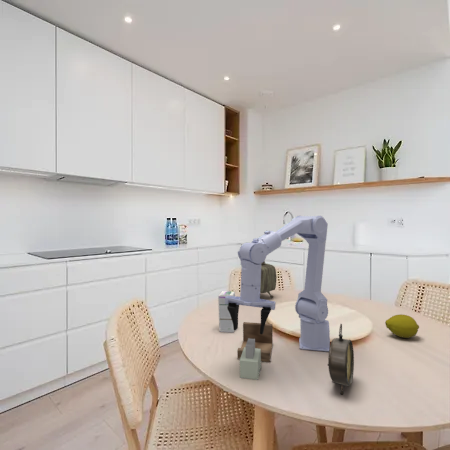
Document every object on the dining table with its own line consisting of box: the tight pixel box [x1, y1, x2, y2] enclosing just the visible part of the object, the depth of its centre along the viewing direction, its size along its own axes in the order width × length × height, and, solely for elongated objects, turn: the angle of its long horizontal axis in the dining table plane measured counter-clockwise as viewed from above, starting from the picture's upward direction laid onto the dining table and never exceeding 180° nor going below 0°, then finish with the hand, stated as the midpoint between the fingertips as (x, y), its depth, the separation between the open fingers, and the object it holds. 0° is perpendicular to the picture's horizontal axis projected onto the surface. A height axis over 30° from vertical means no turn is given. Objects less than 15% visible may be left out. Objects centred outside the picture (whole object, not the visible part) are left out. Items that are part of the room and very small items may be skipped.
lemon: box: [384, 314, 420, 339], centre depth 105 cm, size 11×8×8 cm
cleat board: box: [237, 321, 274, 363], centre depth 96 cm, size 10×12×7 cm
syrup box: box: [217, 290, 236, 333], centre depth 114 cm, size 6×6×14 cm
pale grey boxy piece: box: [239, 338, 262, 381], centre depth 84 cm, size 5×8×8 cm, turn 167°
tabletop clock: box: [260, 260, 277, 299], centre depth 155 cm, size 14×9×25 cm, turn 43°
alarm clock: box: [327, 323, 355, 396], centre depth 76 cm, size 11×5×16 cm, turn 148°
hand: (248, 331), depth 84 cm, fingers open, 7 cm apart
